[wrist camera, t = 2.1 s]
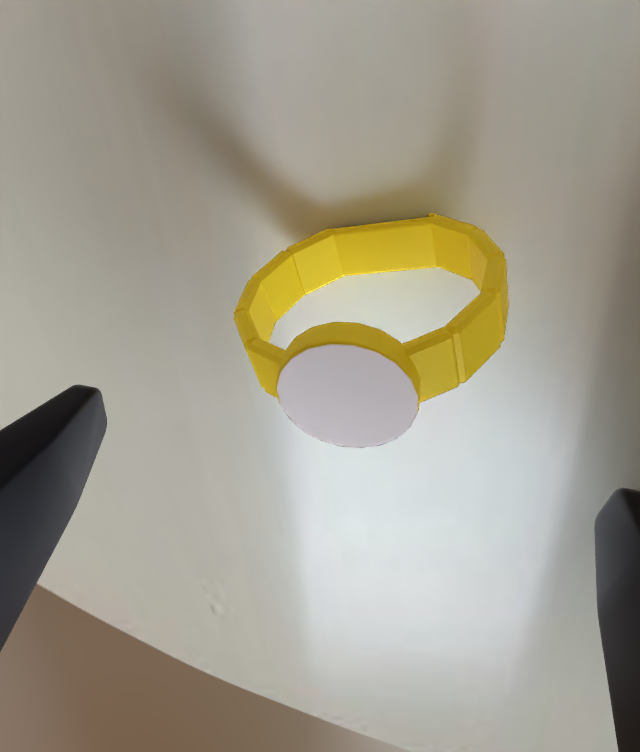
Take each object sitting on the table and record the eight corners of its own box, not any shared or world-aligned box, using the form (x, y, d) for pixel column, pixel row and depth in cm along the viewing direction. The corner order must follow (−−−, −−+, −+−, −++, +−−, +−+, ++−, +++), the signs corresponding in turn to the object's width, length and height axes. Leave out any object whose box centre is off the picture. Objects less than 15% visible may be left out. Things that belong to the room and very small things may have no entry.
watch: (495, 171, 14) (519, 323, 9) (502, 273, 15) (524, 442, 11) (257, 213, 15) (183, 359, 11) (287, 300, 17) (233, 457, 13)
